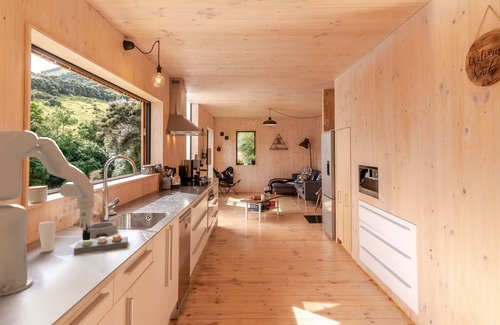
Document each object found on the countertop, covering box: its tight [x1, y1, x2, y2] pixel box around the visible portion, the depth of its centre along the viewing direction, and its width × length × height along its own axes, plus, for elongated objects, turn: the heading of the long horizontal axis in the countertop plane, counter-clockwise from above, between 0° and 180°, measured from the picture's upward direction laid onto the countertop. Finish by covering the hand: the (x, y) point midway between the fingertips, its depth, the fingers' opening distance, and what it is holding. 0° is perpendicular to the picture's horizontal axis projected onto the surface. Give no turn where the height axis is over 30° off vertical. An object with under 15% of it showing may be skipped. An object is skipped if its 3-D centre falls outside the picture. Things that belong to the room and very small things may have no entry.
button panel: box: [73, 236, 129, 255], centre depth 142 cm, size 10×24×3 cm, turn 112°
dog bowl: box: [90, 221, 118, 239], centre depth 169 cm, size 17×18×5 cm
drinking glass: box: [38, 220, 56, 253], centre depth 138 cm, size 7×7×15 cm
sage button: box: [82, 239, 93, 246], centre depth 139 cm, size 4×4×3 cm
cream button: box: [97, 236, 108, 244], centre depth 142 cm, size 4×4×3 cm
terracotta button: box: [112, 234, 122, 242], centre depth 144 cm, size 4×4×3 cm
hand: (86, 239), depth 138 cm, fingers closed
